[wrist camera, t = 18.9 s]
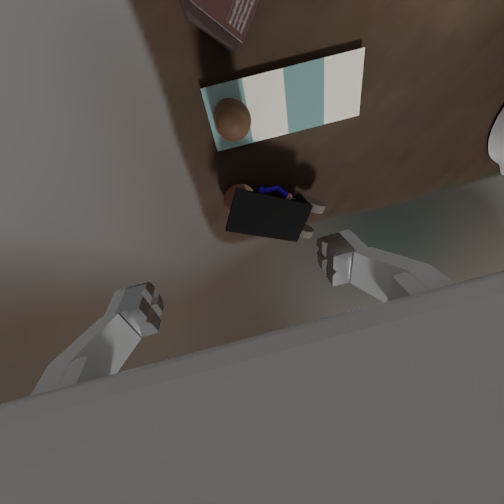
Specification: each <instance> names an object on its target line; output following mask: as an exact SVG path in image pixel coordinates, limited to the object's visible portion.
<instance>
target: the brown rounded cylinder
mask: <svg viewBox="0 0 504 504" xmlns="http://www.w3.org/2000/svg"><path fill="white" fill-rule="evenodd" d="M213 119H214V124H215V128H216V130H217V132H218V134H219V135H220V136H221V137H222V138H223V139H225V140H227V141H230V142H236V141H239V140H241V139H243V138H244V137H245V136H246V135H247V134H248V132H249V130H250V126H251V116H250V113H249V110H248V108H247V107H246V106H245V104H243V103H242V102H241V101H239V100H236V99H233V98H224V99H222V100H220V101H219V102H218V103H217V104H216V106H215V108H214V112H213Z"/></svg>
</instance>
